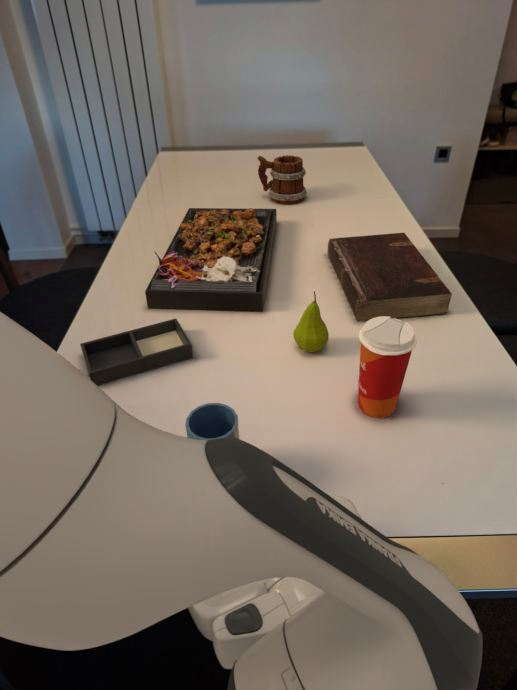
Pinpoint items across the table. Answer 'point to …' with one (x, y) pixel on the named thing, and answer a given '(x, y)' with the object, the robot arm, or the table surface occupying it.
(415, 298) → the hardback book
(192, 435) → the blue cup
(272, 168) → the mug
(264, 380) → the table surface
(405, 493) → the table surface
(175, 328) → the tray
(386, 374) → the coffee cup
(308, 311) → the fruit
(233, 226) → the food platter
